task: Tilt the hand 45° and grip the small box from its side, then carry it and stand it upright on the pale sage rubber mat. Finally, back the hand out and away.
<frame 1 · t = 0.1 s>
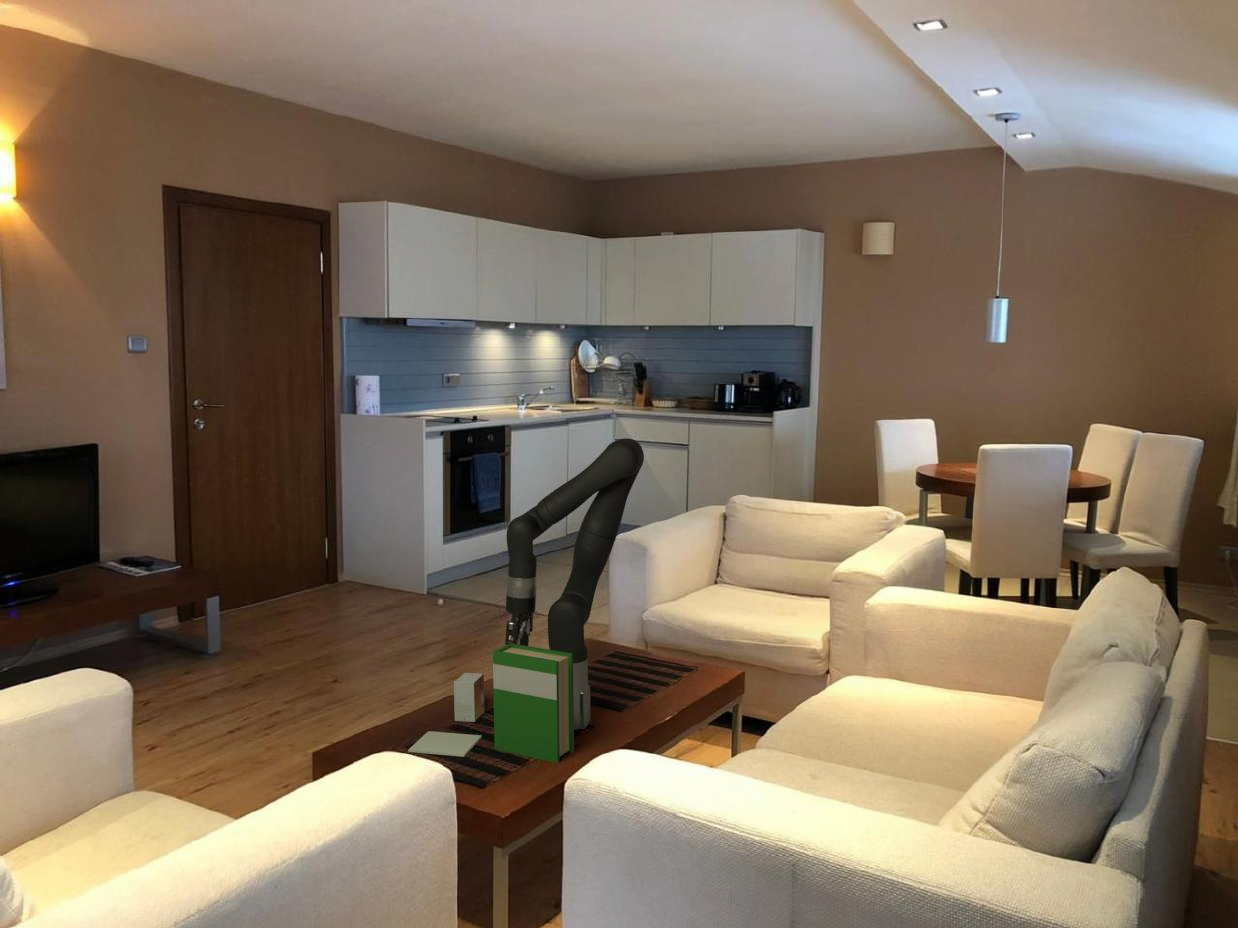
hand: (518, 654, 256), 17 cm above the table, tool pointing down, fingers open, 8 cm apart
sage mat: (445, 744, 243), on the table
small box: (469, 717, 261), on the table
hardback book: (534, 751, 239), on the table
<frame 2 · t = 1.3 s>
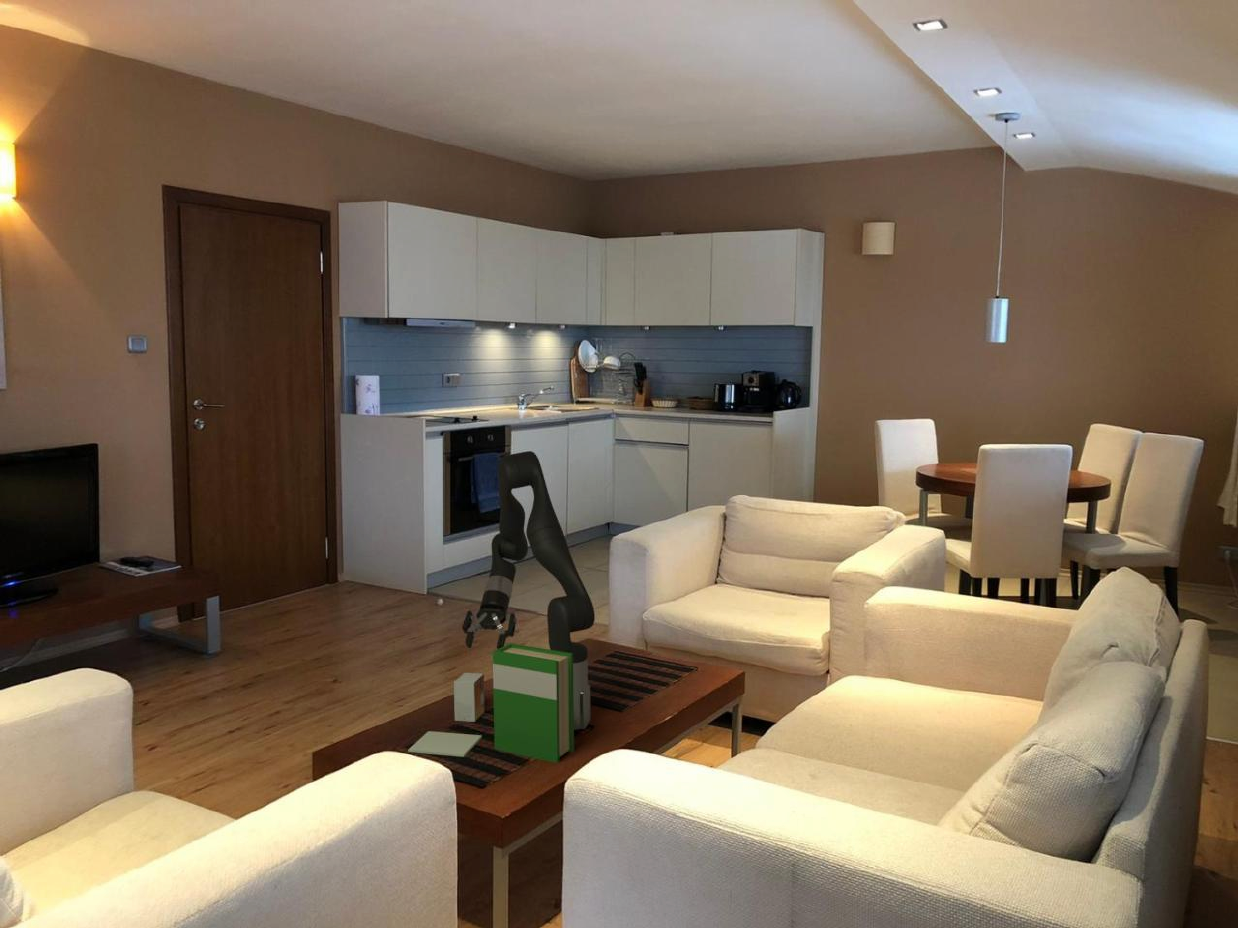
hand: (483, 647, 271), 15 cm above the table, tool tilted 45°, fingers open, 8 cm apart
nothing on the table moved.
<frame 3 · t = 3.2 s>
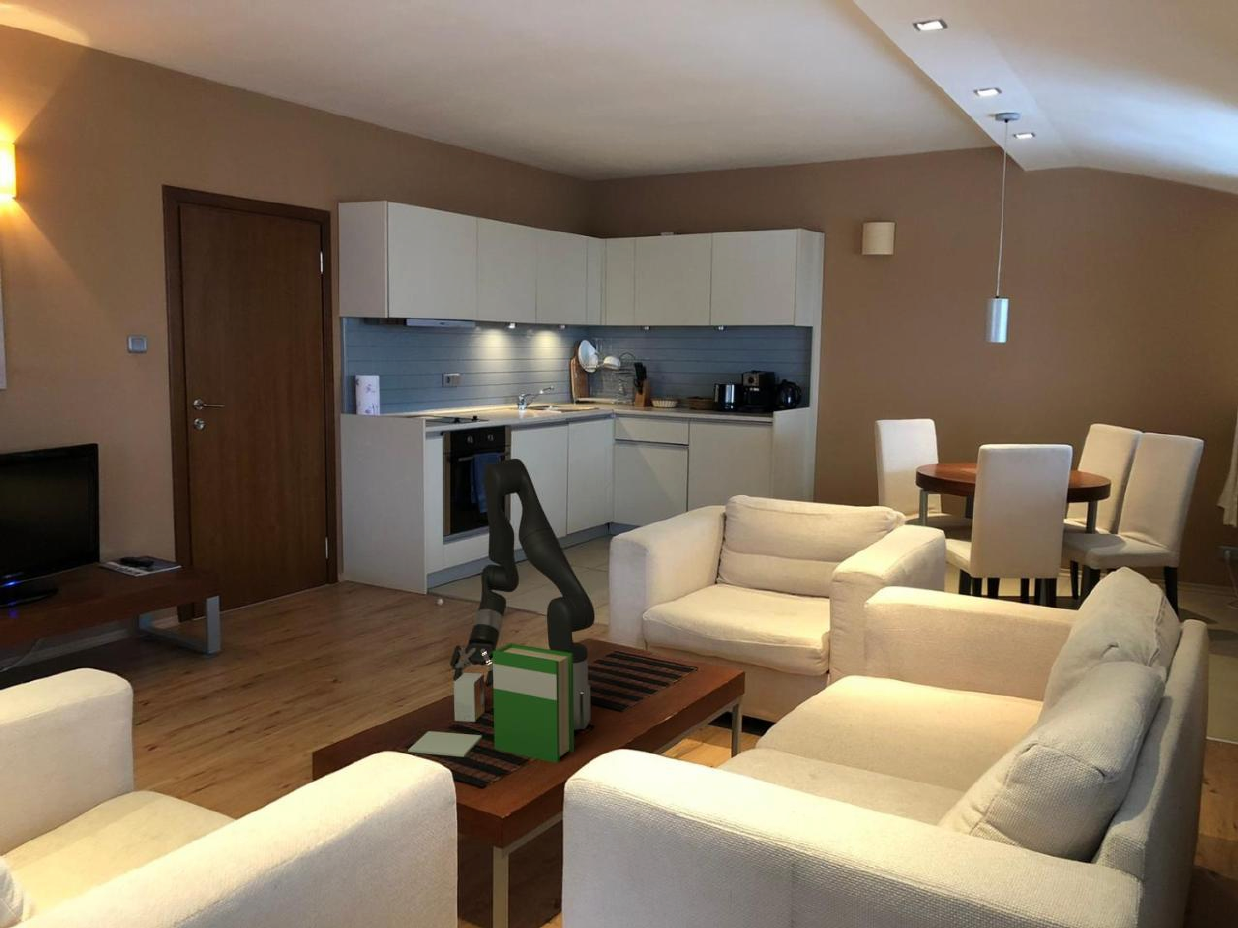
hand: (472, 684, 263), 8 cm above the table, tool tilted 45°, fingers open, 8 cm apart
nothing on the table moved.
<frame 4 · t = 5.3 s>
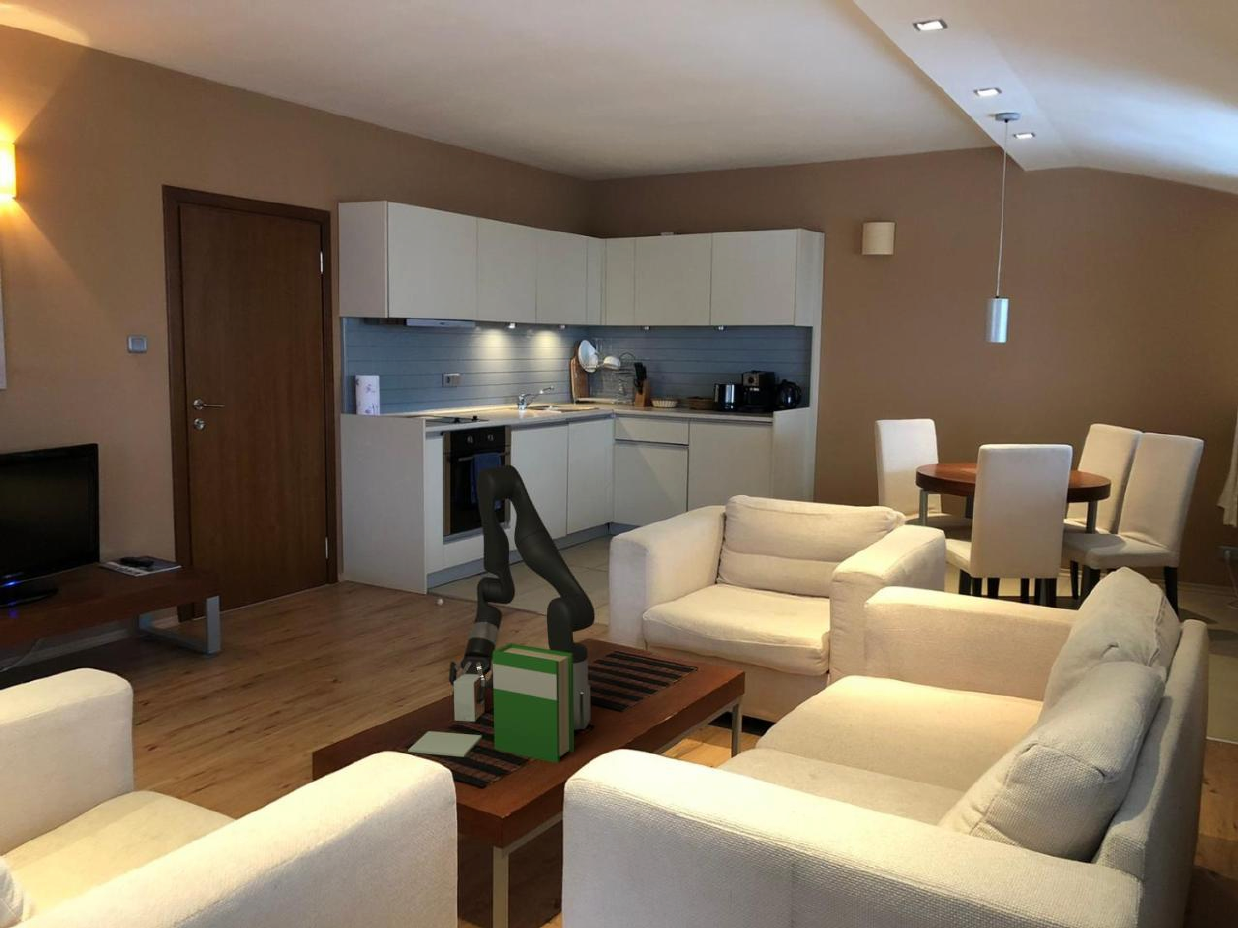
hand: (467, 700, 259), 5 cm above the table, tool tilted 45°, fingers closed on small box, 5 cm apart
small box: (469, 717, 261), on the table, touching gripper
everything else where it was.
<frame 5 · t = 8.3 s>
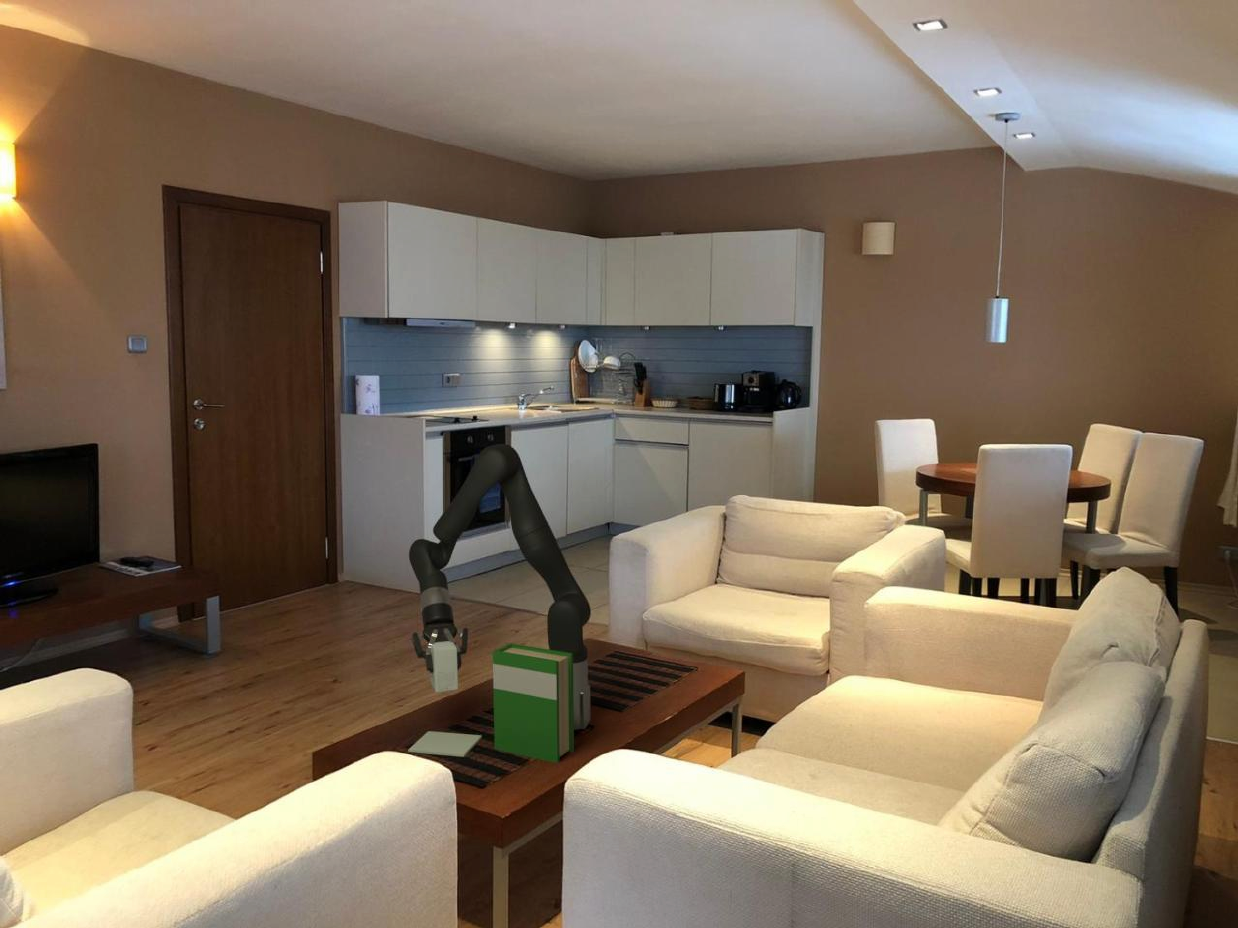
hand: (444, 669, 242), 18 cm above the table, tool tilted 45°, fingers closed on small box, 5 cm apart
small box: (444, 687, 245), point 13 cm above the table, touching gripper
everything else where it was.
when the fingers open (7 cm above the table, at t = 11.3 s): small box drops 1 cm, resting on sage mat.
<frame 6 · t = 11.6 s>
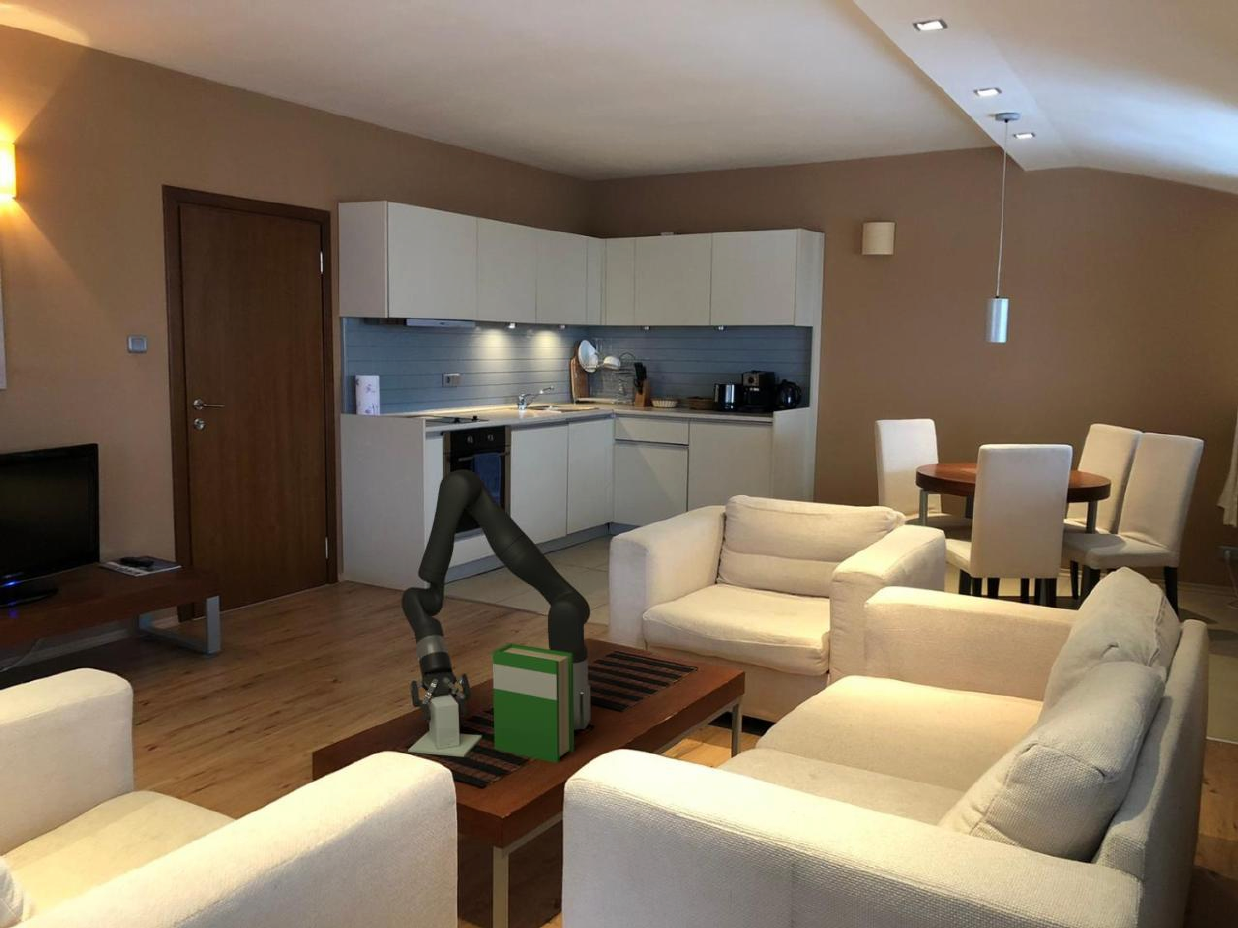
hand: (446, 718, 241), 7 cm above the table, tool tilted 45°, fingers open, 8 cm apart
small box: (444, 743, 243), resting on sage mat
everything else where it was.
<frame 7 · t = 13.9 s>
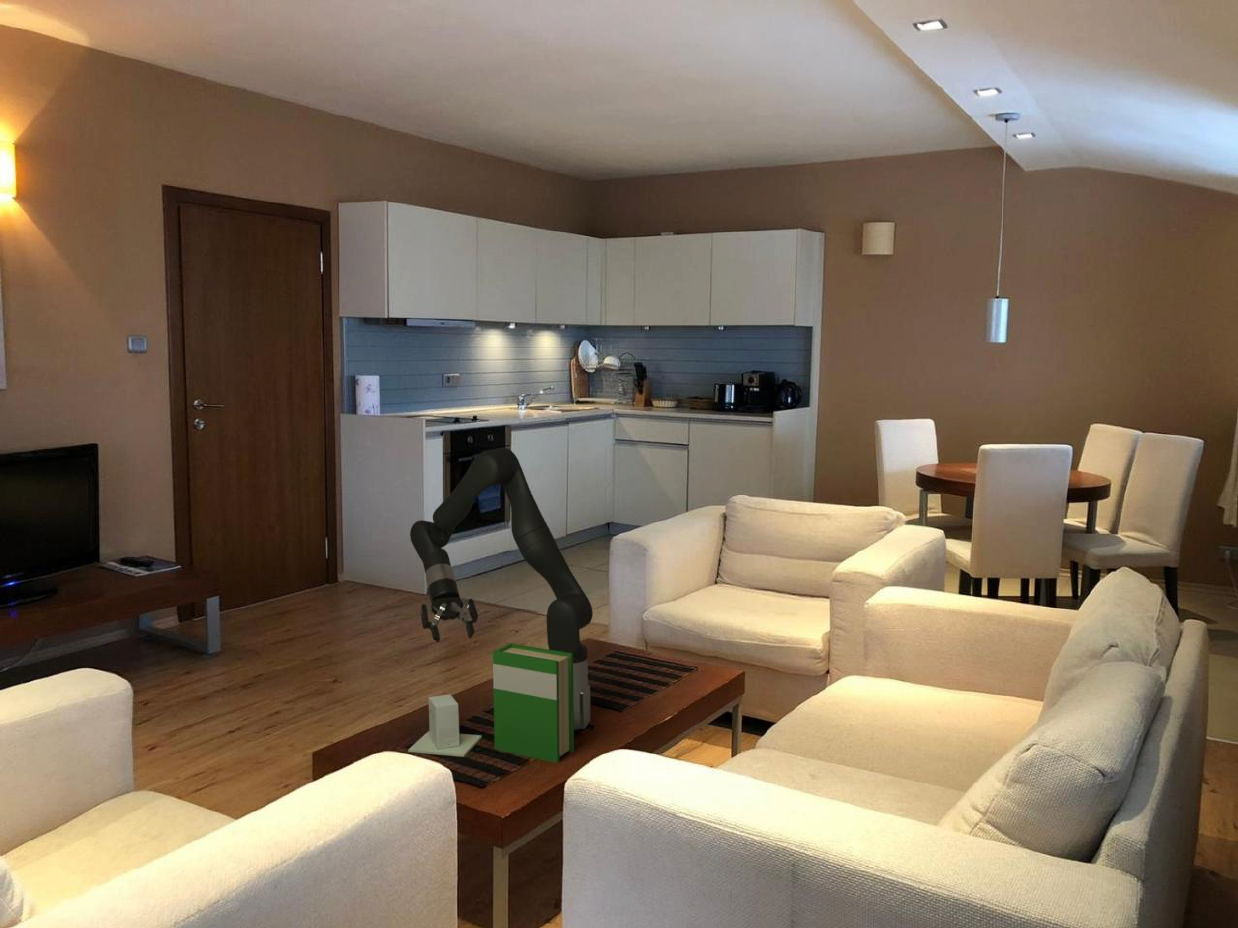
hand: (454, 638, 256), 22 cm above the table, tool tilted 45°, fingers open, 8 cm apart
nothing on the table moved.
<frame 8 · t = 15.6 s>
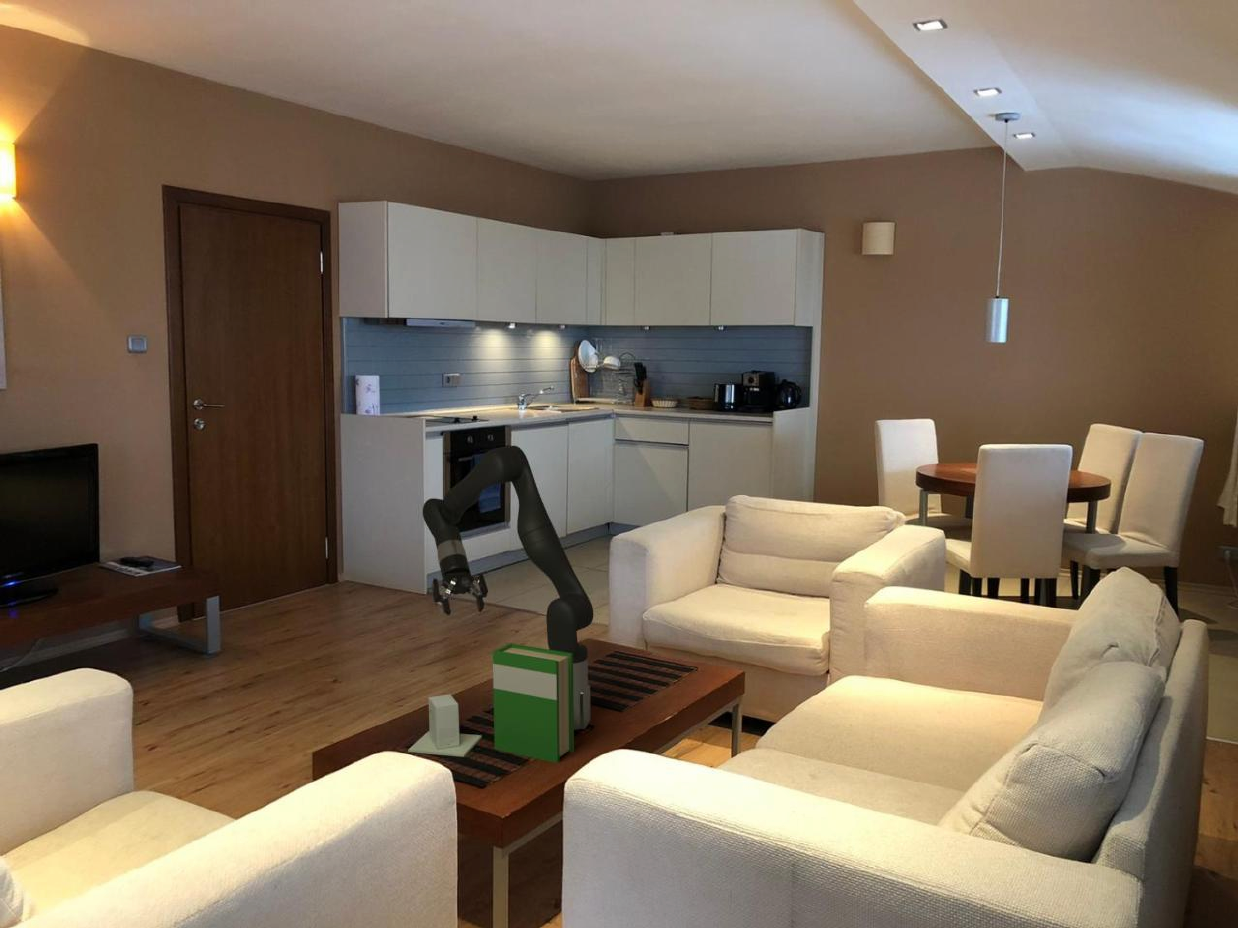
hand: (465, 612, 263), 27 cm above the table, tool tilted 45°, fingers open, 8 cm apart
nothing on the table moved.
at the end: small box inside the target area (0.3 cm from its centre), resting on sage mat; small box tilted 0°; the gripper is holding nothing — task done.
